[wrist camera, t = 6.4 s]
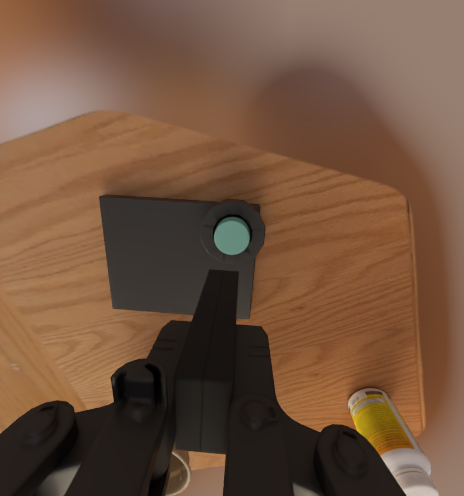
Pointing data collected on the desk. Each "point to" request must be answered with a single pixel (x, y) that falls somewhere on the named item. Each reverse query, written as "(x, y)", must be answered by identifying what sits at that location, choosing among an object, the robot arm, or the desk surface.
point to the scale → (173, 251)
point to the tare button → (232, 236)
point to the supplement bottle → (392, 440)
